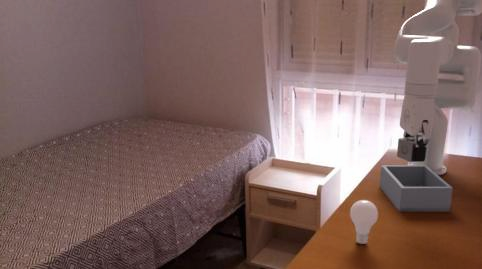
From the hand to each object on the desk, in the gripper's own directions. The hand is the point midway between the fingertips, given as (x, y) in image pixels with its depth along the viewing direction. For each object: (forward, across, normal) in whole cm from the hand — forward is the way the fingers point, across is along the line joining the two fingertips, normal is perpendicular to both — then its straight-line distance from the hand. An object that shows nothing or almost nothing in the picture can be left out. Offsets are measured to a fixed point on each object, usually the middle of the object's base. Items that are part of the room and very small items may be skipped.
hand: (413, 156), depth 120 cm
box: (+17, -10, +5) cm, 20 cm away
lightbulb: (+16, +16, -17) cm, 28 cm away
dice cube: (+1, 0, 0) cm, 1 cm away
